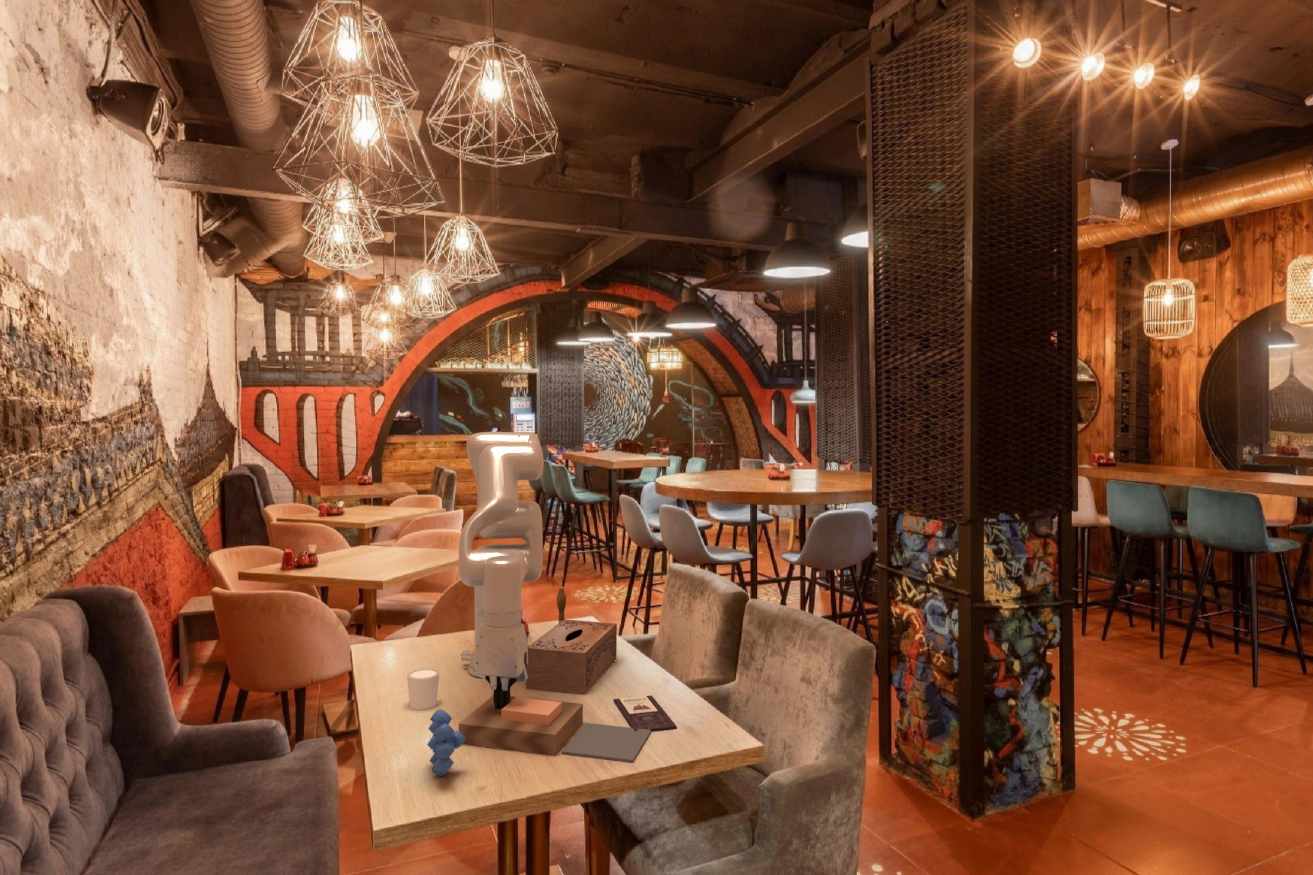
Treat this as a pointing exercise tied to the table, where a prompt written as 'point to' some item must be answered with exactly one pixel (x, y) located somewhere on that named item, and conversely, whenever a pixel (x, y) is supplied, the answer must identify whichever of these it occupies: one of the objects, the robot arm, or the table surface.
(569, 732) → the stand
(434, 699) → the pale tapered cup
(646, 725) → the chocolate bar
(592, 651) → the tissue box cover
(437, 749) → the grapes
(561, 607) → the hand bell
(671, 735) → the table surface
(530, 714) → the orange flat block
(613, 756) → the mat
